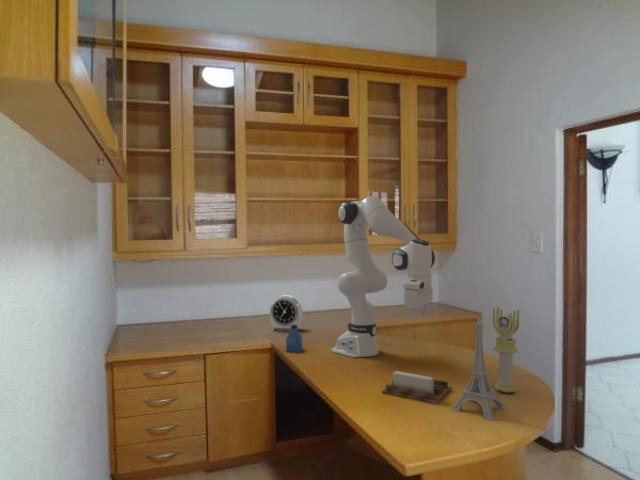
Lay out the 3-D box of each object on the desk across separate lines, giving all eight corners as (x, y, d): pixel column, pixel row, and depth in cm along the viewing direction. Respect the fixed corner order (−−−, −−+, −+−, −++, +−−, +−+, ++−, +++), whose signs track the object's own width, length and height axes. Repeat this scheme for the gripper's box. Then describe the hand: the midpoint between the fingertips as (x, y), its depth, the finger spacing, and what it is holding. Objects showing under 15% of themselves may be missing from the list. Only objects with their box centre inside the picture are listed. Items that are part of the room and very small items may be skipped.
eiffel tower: (507, 408, 151) (507, 317, 150) (491, 421, 141) (491, 324, 140) (468, 398, 160) (468, 312, 159) (451, 410, 150) (450, 318, 149)
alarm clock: (269, 331, 263) (268, 296, 263) (274, 327, 272) (273, 293, 271) (299, 332, 259) (298, 296, 258) (303, 329, 267) (302, 294, 267)
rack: (382, 392, 165) (382, 384, 165) (400, 380, 178) (400, 372, 178) (436, 404, 154) (436, 395, 154) (451, 389, 167) (451, 381, 167)
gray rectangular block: (393, 389, 165) (392, 373, 165) (396, 387, 168) (396, 370, 168) (430, 397, 158) (430, 380, 158) (433, 394, 160) (433, 377, 160)
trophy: (489, 390, 166) (490, 308, 165) (499, 385, 171) (499, 305, 170) (512, 396, 160) (512, 311, 159) (521, 391, 165) (521, 308, 164)
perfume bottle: (302, 348, 225) (302, 324, 225) (298, 352, 219) (298, 327, 219) (290, 348, 227) (290, 323, 226) (286, 351, 221) (285, 326, 220)
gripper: (422, 277, 188) (421, 311, 189) (401, 284, 171) (400, 320, 172) (437, 279, 184) (436, 313, 185) (417, 286, 167) (416, 323, 168)
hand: (418, 317), depth 178 cm, fingers open, 8 cm apart
